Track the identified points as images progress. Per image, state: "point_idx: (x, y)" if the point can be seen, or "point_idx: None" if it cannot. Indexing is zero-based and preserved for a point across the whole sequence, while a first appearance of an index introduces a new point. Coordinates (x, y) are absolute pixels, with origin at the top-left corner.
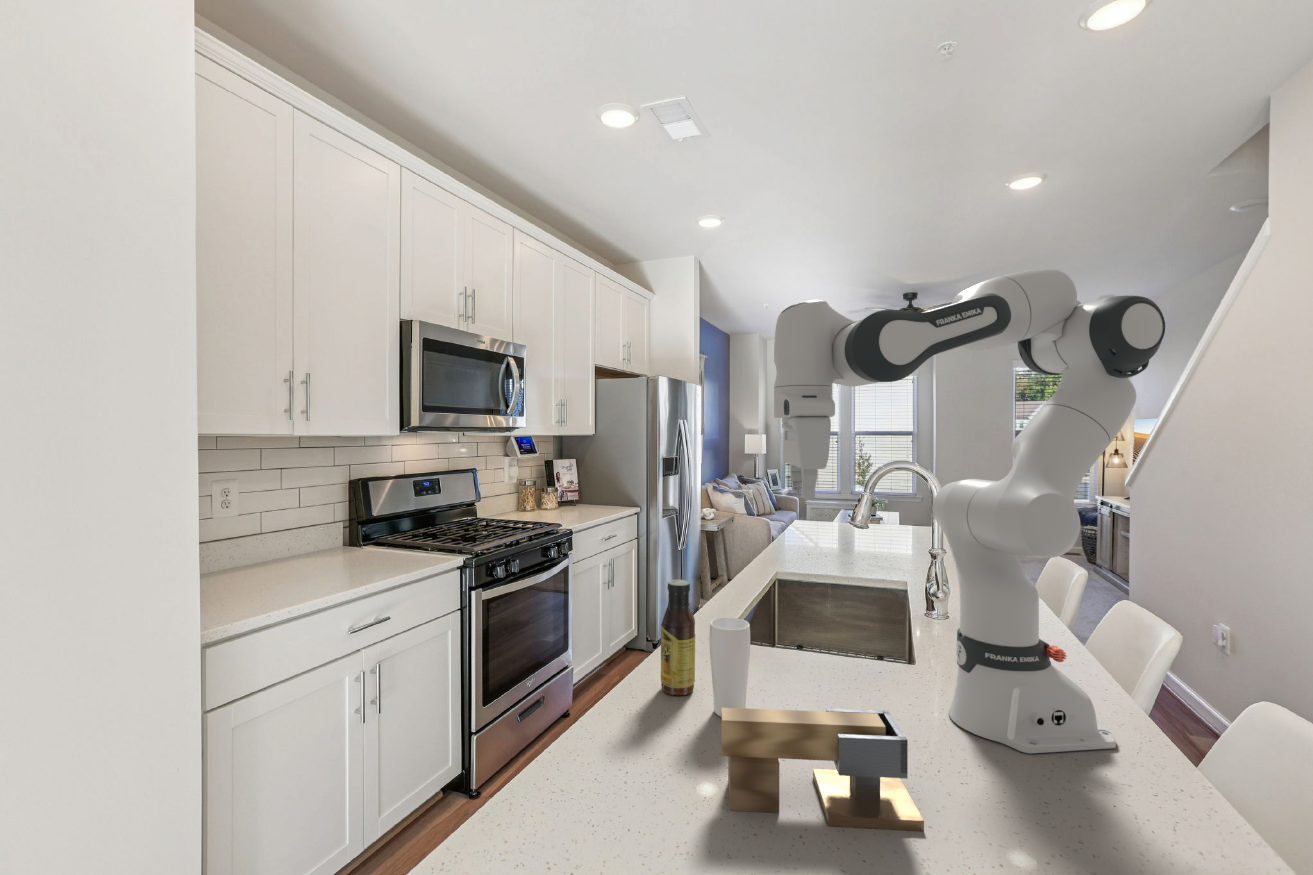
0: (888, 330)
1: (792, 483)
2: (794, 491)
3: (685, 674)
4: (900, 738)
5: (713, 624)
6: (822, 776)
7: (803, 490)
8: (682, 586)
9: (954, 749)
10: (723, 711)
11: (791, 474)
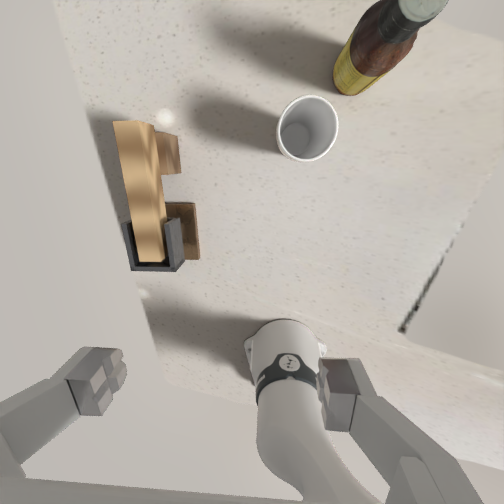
0: None
1: (352, 386)
2: (319, 360)
3: (338, 77)
4: (132, 267)
5: (321, 102)
6: (184, 209)
7: (61, 369)
8: (397, 4)
9: (245, 305)
10: (130, 122)
11: (397, 433)
